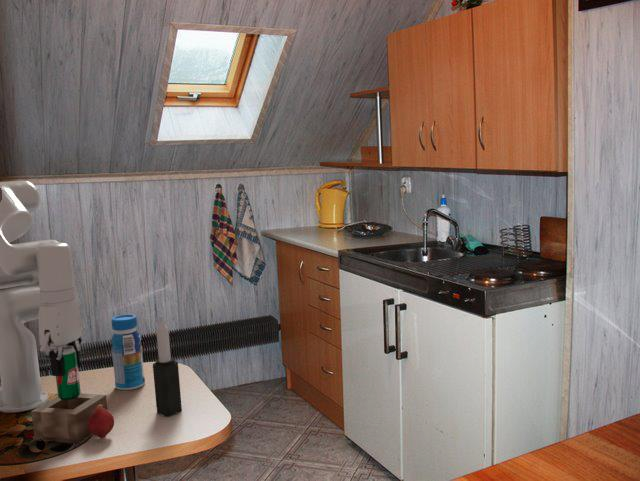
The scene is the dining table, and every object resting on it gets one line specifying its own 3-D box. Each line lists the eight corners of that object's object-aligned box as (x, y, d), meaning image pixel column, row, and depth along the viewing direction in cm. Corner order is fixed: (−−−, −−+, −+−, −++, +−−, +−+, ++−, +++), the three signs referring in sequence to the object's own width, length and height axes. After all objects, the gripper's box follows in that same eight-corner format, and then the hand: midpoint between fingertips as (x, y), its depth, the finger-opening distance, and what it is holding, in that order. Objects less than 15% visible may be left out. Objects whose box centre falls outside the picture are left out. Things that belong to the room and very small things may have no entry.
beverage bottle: (109, 390, 185) (102, 320, 182) (124, 380, 193) (117, 313, 190) (136, 391, 183) (130, 321, 180) (150, 380, 191) (144, 313, 188)
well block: (34, 439, 155) (31, 411, 154) (67, 419, 166) (64, 392, 165) (78, 443, 151) (75, 414, 150) (109, 422, 163) (106, 394, 162)
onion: (100, 445, 150) (97, 411, 149) (83, 440, 153) (80, 407, 152) (120, 435, 155) (117, 402, 153) (104, 431, 158) (100, 398, 156)
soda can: (73, 401, 154) (67, 351, 153) (53, 400, 155) (48, 351, 154) (85, 393, 159) (79, 344, 158) (66, 392, 160) (60, 344, 159)
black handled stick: (155, 412, 167) (146, 316, 164) (172, 406, 171) (163, 311, 167) (166, 417, 164) (158, 319, 160) (183, 410, 167) (175, 314, 164)
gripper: (67, 288, 163) (75, 359, 166) (18, 304, 147) (28, 383, 149) (94, 288, 161) (101, 360, 164) (47, 305, 145) (56, 384, 147)
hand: (66, 370), depth 156 cm, fingers closed on soda can, 5 cm apart
